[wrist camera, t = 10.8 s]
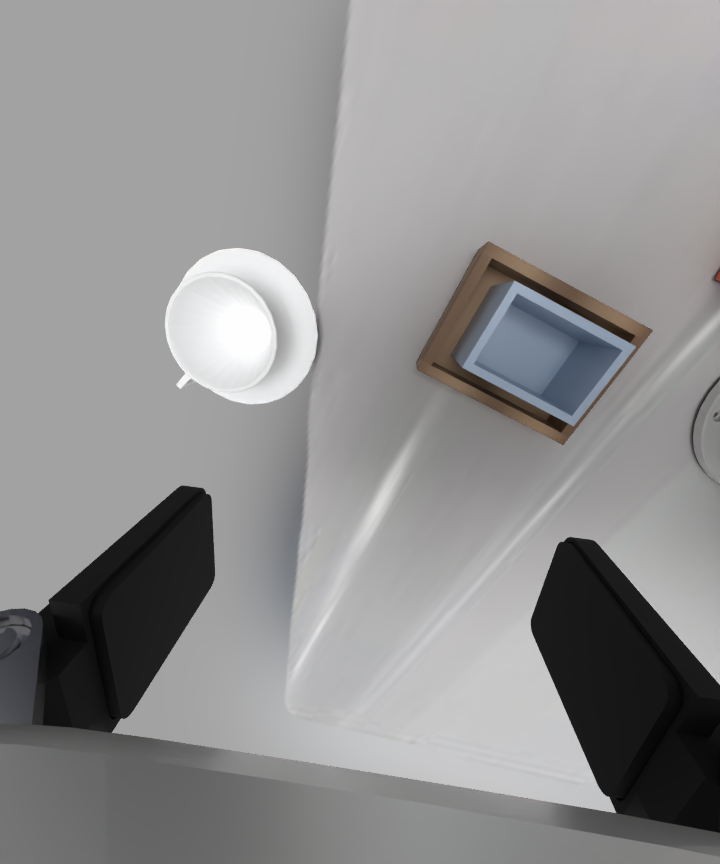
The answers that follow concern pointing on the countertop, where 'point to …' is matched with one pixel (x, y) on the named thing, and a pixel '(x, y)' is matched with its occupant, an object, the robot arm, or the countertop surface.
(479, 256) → the walnut crate
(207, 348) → the teacup
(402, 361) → the countertop surface
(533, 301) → the slate crate
